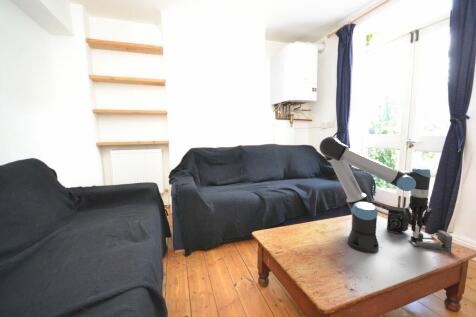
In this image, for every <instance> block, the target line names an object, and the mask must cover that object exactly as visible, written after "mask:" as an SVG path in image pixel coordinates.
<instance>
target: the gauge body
mask: <svg viewBox="0 0 476 317" xmlns="http://www.w3.org/2000/svg"><path fill="white" fill-rule="evenodd" d="M423 239H430V240H432V239H434V238H432V237H431V236H429V237H427V236H423ZM437 239H438V240H439V241H441V243H439V242H426V241H417V240H416V242H415V237H413V235H411V236H410V238H409V239H408V242H409V243H410V245H412V246H413V247H414V248H417V249H427V250H428V249H429V250H438V251H447V252H452V244H453V236H452V235H450V234H449V233H448V232H446V231H444V230H439V229H438V231H437Z"/></svg>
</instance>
